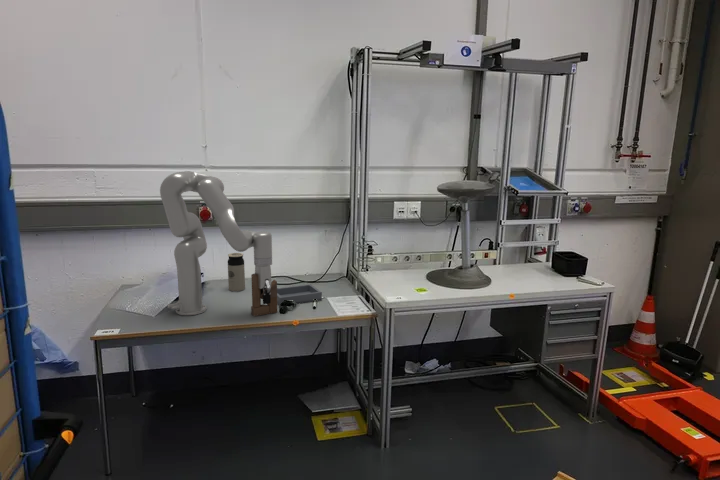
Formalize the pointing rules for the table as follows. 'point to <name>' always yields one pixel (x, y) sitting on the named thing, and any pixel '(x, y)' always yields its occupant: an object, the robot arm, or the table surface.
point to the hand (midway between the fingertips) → (264, 300)
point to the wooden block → (257, 296)
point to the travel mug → (236, 272)
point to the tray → (298, 294)
